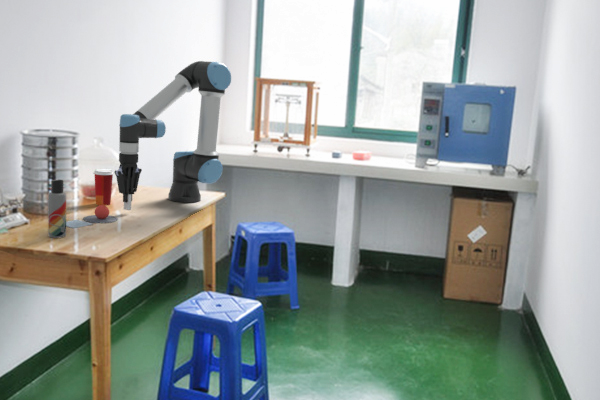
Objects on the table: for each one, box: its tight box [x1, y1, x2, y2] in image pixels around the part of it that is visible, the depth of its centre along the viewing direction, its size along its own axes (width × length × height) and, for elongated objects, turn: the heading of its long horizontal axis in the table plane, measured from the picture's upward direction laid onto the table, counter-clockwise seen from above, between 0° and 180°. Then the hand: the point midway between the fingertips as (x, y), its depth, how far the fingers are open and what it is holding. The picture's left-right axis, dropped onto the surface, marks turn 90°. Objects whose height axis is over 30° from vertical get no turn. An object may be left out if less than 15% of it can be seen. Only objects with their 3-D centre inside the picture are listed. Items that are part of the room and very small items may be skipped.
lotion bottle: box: [47, 179, 67, 239], centre depth 207 cm, size 6×6×20 cm
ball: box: [94, 205, 110, 219], centre depth 237 cm, size 6×6×6 cm
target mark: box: [82, 214, 119, 224], centre depth 236 cm, size 13×13×1 cm
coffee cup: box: [93, 168, 115, 207], centre depth 261 cm, size 8×8×15 cm
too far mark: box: [66, 219, 94, 229], centre depth 226 cm, size 9×9×1 cm
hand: (127, 209), depth 248 cm, fingers closed
